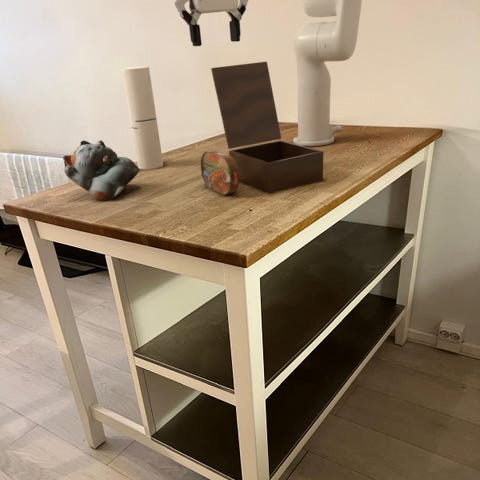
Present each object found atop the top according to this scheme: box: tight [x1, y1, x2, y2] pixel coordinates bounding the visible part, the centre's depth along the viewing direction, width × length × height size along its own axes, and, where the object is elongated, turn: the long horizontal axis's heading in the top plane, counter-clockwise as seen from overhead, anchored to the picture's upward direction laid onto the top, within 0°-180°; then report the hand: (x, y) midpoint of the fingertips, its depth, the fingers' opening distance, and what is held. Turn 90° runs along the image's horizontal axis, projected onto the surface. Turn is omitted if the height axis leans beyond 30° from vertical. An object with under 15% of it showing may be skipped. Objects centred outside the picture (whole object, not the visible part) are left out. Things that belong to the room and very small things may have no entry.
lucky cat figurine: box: [62, 139, 141, 202], centre depth 115 cm, size 15×12×14 cm
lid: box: [210, 61, 282, 150], centre depth 119 cm, size 18×15×1 cm
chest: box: [228, 139, 325, 194], centre depth 117 cm, size 18×15×7 cm
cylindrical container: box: [120, 65, 164, 170], centre depth 132 cm, size 7×7×25 cm
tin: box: [200, 150, 240, 196], centre depth 111 cm, size 15×3×8 cm, turn 29°
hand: (216, 43), depth 108 cm, fingers open, 9 cm apart
